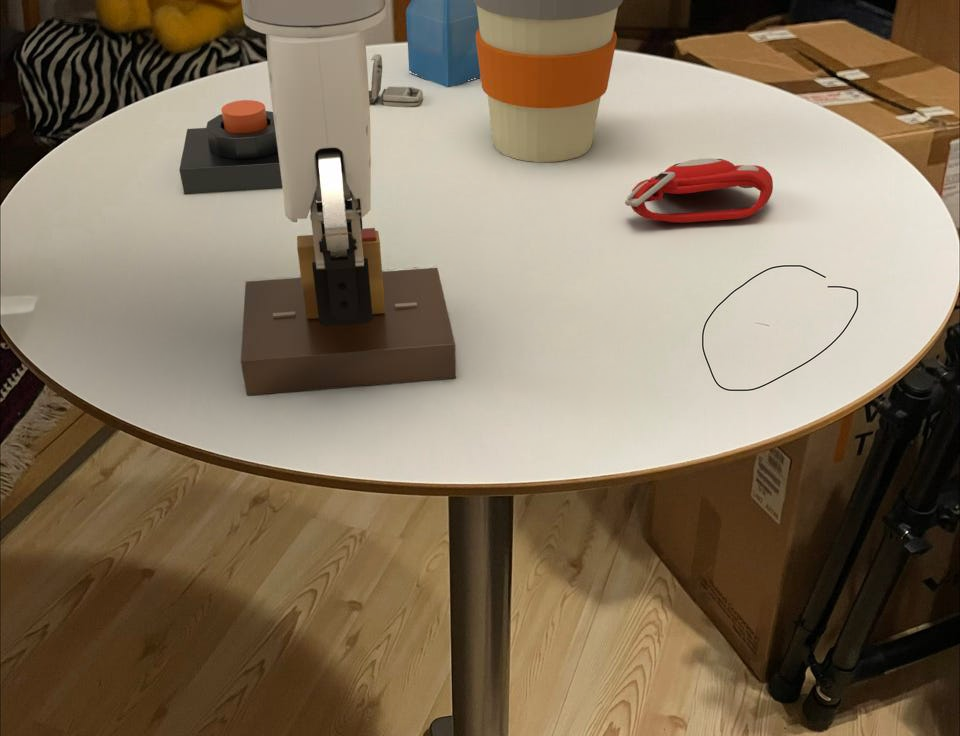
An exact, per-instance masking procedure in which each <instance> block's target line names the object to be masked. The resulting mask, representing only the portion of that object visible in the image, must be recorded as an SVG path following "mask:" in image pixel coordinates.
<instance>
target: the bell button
mask: <svg viewBox="0 0 960 736" xmlns="http://www.w3.org/2000/svg"><path fill="white" fill-rule="evenodd" d="M220 110H221V114H222V116H223V122H224V128H225V131H227V132H233V133H252V132H256V131H259V130H263V129H264V128H266V127H267V126H268V125H267V117H266V111H267V110H266V105H265V104H264V103H263V102H261V101H258V100H254V99H253V100H252V99H244V100H242V99H241V100H235V101H231V102H229V103H226V104H224V105H223V106H222V107H221V109H220Z"/></svg>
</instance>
